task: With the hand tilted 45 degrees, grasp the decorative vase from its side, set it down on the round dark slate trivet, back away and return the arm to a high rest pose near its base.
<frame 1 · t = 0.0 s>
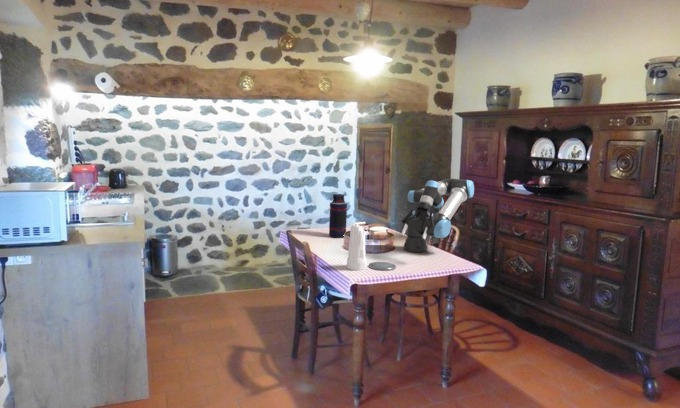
hand: (413, 236, 279), 15 cm above the table, tool tilted 35°, fingers open, 13 cm apart
trivet: (382, 266, 269), on the table
black thermos flask: (336, 236, 343), on the table
decorative vase: (356, 268, 266), on the table
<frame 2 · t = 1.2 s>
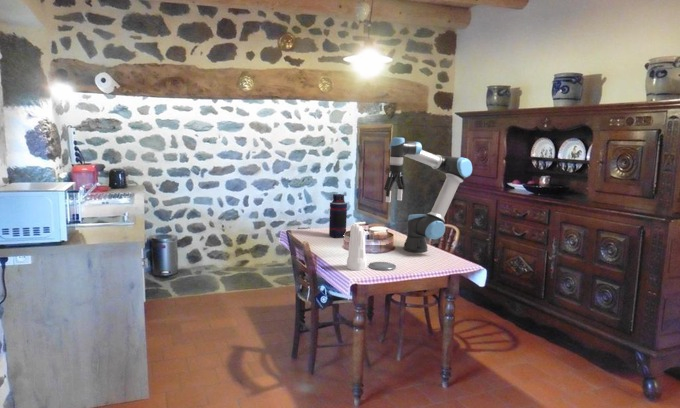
hand: (393, 201, 281), 35 cm above the table, tool pointing down, fingers open, 13 cm apart
nothing on the table moved.
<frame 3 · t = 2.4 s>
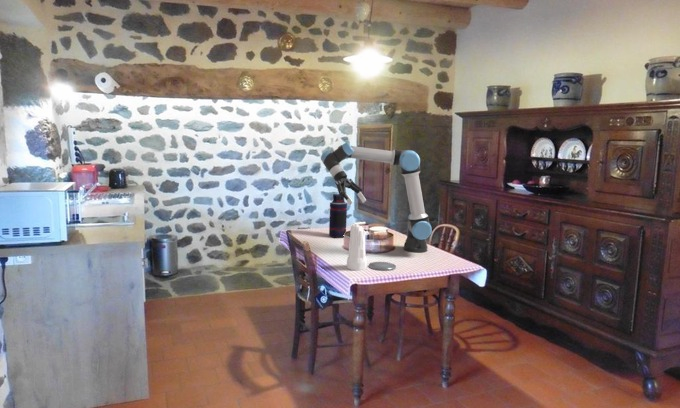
hand: (358, 202, 280), 33 cm above the table, tool tilted 45°, fingers open, 13 cm apart
nothing on the table moved.
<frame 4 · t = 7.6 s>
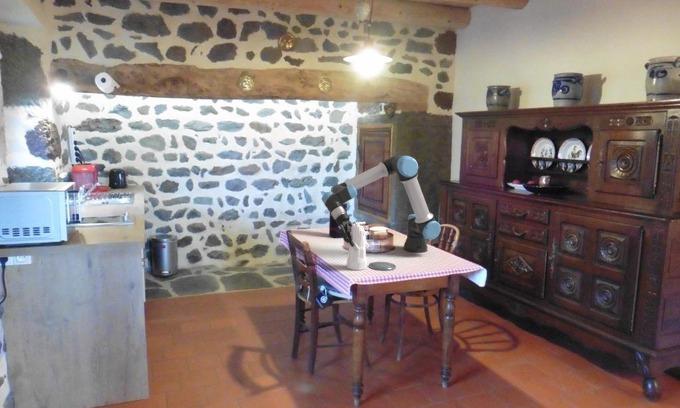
hand: (362, 249, 262), 11 cm above the table, tool tilted 45°, fingers closed on decorative vase, 9 cm apart
decorative vase: (356, 267, 266), on the table, touching gripper
everything else where it was.
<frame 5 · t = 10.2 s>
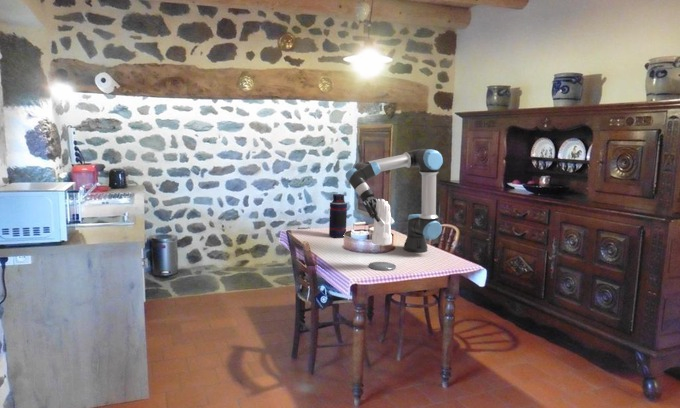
hand: (388, 224, 264), 24 cm above the table, tool tilted 45°, fingers closed on decorative vase, 9 cm apart
decorative vase: (381, 243, 267), point 13 cm above the table, touching gripper
everything else where it was.
when the fingers open (12 cm above the table, at t = 13.2 s): decorative vase stays where it is, resting on trivet.
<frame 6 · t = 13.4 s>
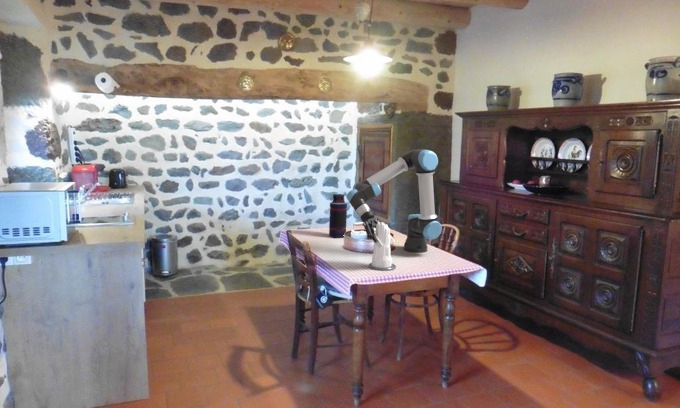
hand: (387, 244, 266), 13 cm above the table, tool tilted 45°, fingers open, 12 cm apart
decorative vase: (381, 265, 269), point 1 cm above the table, touching trivet
everything else where it was.
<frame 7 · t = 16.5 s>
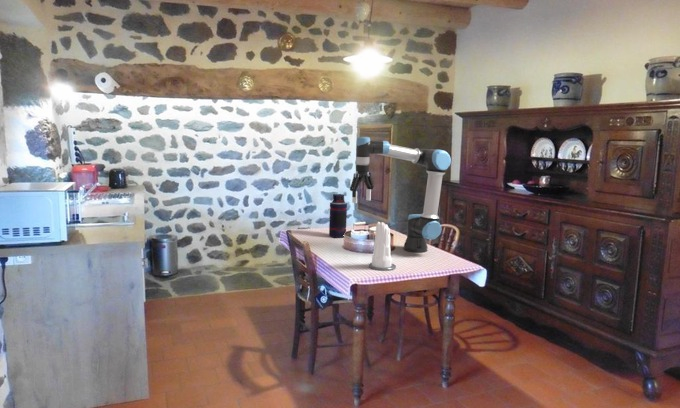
hand: (361, 201, 278), 34 cm above the table, tool pointing down, fingers open, 13 cm apart
nothing on the table moved.
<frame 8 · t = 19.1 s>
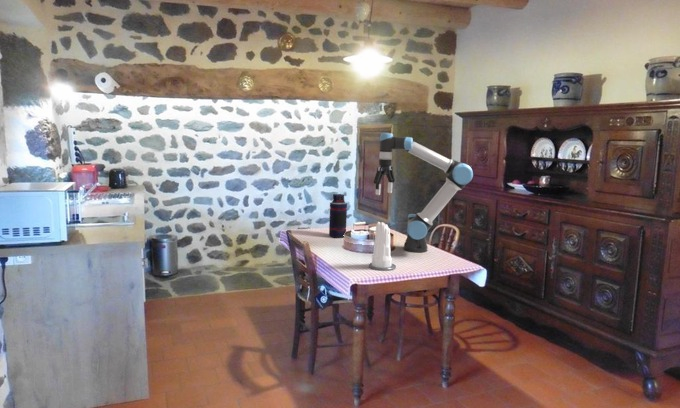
hand: (383, 193, 296), 37 cm above the table, tool pointing down, fingers open, 13 cm apart
nothing on the table moved.
at the end: decorative vase 0.5 cm from the trivet (horizontally); decorative vase tilted 0°; the gripper is holding nothing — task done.
